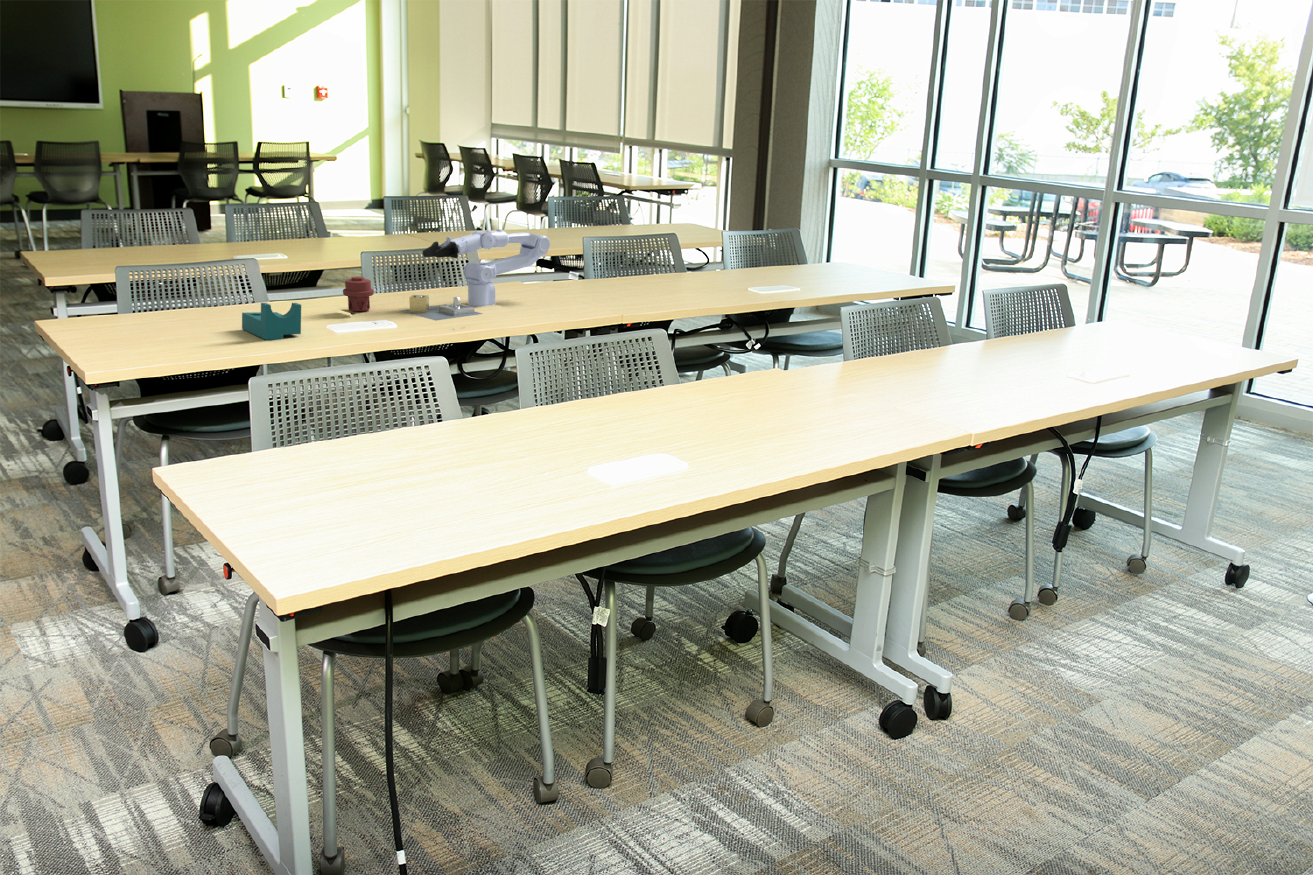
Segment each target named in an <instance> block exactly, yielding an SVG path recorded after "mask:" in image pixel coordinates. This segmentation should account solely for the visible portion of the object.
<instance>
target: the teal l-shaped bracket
mask: <svg viewBox="0 0 1313 875" xmlns="http://www.w3.org/2000/svg"><path fill="white" fill-rule="evenodd" d="M241 329H242V330H244V331H246V332H248V333H251V334H252V335H255V336H257V337H259V338H260V339H263V340H265V341H266V340H269V341H270V340H271V341H272V340H273V341H275V340H283V339H284V335H301V334H302V332H301V331H302V304H301V303H299V302H291V306H290V308H289V310H288V311H287V312H286V313H284V314H281V313H279V312H276V311H275V312H274V311H273V309H272V305H271V304H269V303H267V302H260V312H256V311H255V312H253V311H252V312H241Z"/></svg>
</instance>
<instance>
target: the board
mask: <svg viewBox="0 0 1313 875" xmlns="http://www.w3.org/2000/svg"><path fill="white" fill-rule="evenodd" d="M442 305H448V304H447V303H446V304H438V305H429V310H428V312H427V313H415V312H410V308H407V309H398V311H399V312H403V313H406V314H411V315H414V316H418V317H421V318H425V319H428V320H432V321H442V320H449V319H454V318H455V319H457V318H463V317H470V316H478V315H483V314H484V313H482V312H479V311H475V313H471V314H463V315H456V316H453V315H450V314H446V313H442V312H439V306H442Z"/></svg>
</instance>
